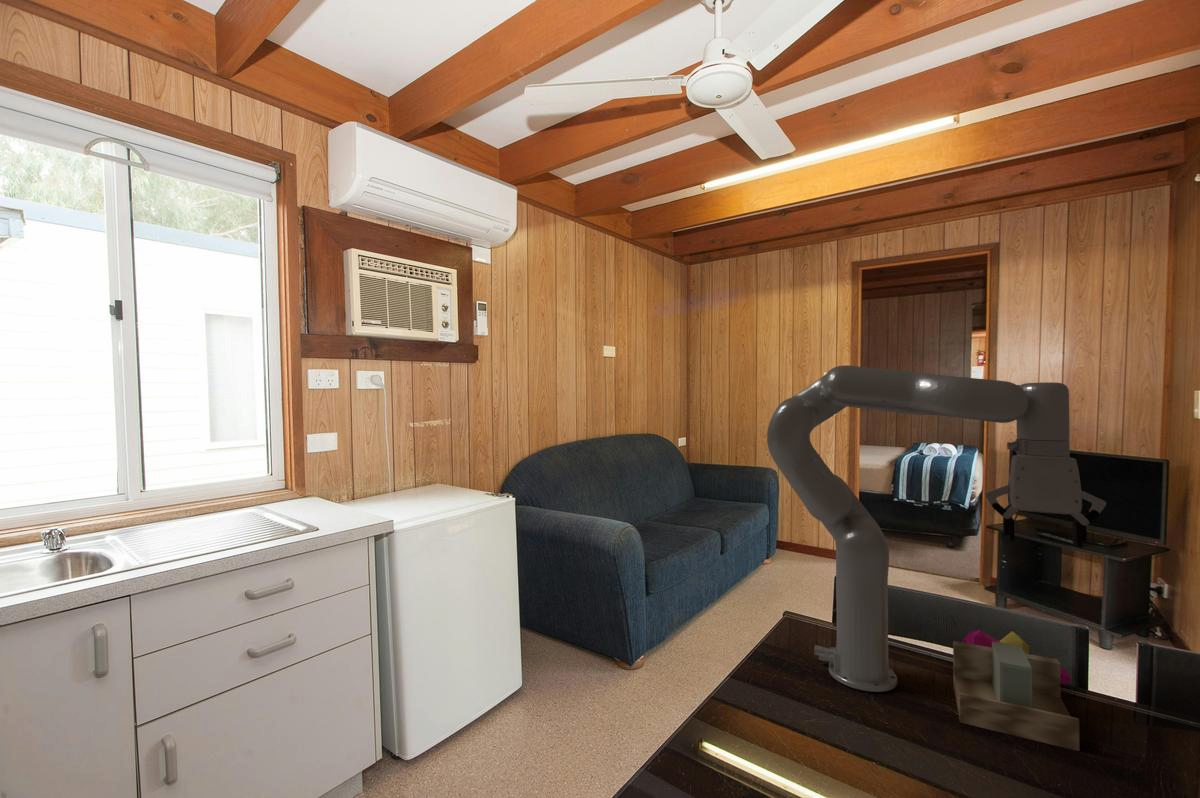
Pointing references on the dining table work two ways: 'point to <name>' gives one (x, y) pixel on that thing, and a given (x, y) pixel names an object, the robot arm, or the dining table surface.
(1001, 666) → the cabinet block
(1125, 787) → the dining table surface
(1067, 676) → the toy
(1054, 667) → the wall board
